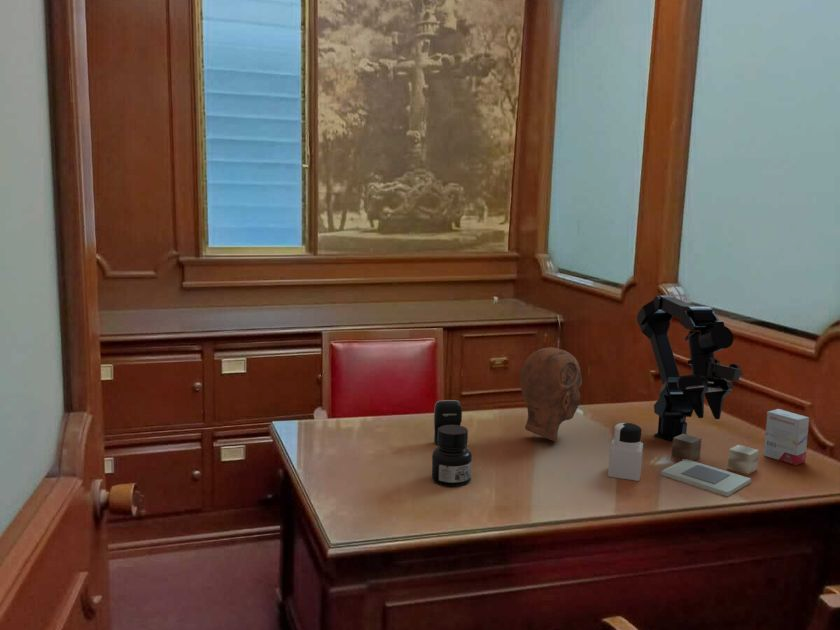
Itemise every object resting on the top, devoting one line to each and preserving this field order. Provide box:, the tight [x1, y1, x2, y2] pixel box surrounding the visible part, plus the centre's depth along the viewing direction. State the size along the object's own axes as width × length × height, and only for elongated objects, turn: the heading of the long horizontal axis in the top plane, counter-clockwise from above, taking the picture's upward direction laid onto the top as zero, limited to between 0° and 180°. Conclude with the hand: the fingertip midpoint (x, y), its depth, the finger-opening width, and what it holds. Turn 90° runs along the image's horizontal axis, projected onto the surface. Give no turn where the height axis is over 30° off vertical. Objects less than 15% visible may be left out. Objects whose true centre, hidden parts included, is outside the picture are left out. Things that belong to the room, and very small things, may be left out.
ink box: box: [763, 408, 810, 466], centre depth 186 cm, size 9×5×12 cm, turn 33°
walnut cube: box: [671, 433, 702, 461], centre depth 187 cm, size 5×5×5 cm
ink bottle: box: [431, 425, 473, 487], centre depth 168 cm, size 10×9×12 cm
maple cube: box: [727, 444, 760, 475], centre depth 180 cm, size 5×5×5 cm
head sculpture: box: [519, 346, 583, 442], centre depth 196 cm, size 16×18×25 cm
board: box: [660, 459, 752, 497], centre depth 173 cm, size 16×12×1 cm
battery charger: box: [433, 399, 463, 445], centre depth 191 cm, size 7×4×11 cm, turn 98°
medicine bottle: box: [607, 422, 644, 482], centre depth 174 cm, size 7×7×12 cm
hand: (709, 418), depth 182 cm, fingers open, 9 cm apart
